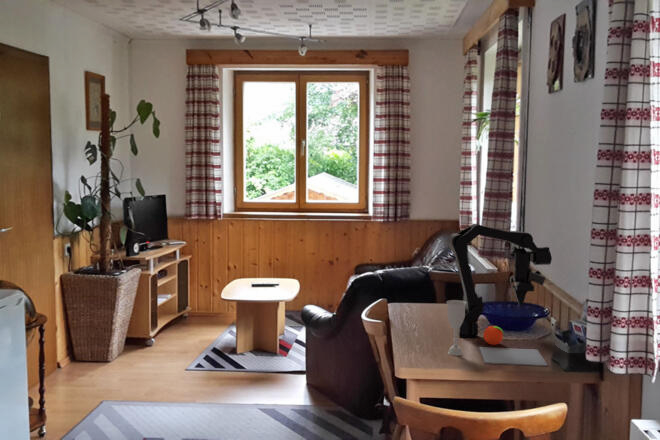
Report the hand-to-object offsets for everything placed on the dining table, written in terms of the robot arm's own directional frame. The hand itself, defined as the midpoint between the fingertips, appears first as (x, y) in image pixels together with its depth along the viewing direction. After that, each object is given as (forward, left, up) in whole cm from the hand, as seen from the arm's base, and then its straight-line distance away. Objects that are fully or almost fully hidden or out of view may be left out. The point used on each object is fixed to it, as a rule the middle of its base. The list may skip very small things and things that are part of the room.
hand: (520, 305), depth 246 cm
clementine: (-11, -14, -12) cm, 22 cm away
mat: (-7, -28, -12) cm, 31 cm away
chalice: (-26, -27, -12) cm, 39 cm away
